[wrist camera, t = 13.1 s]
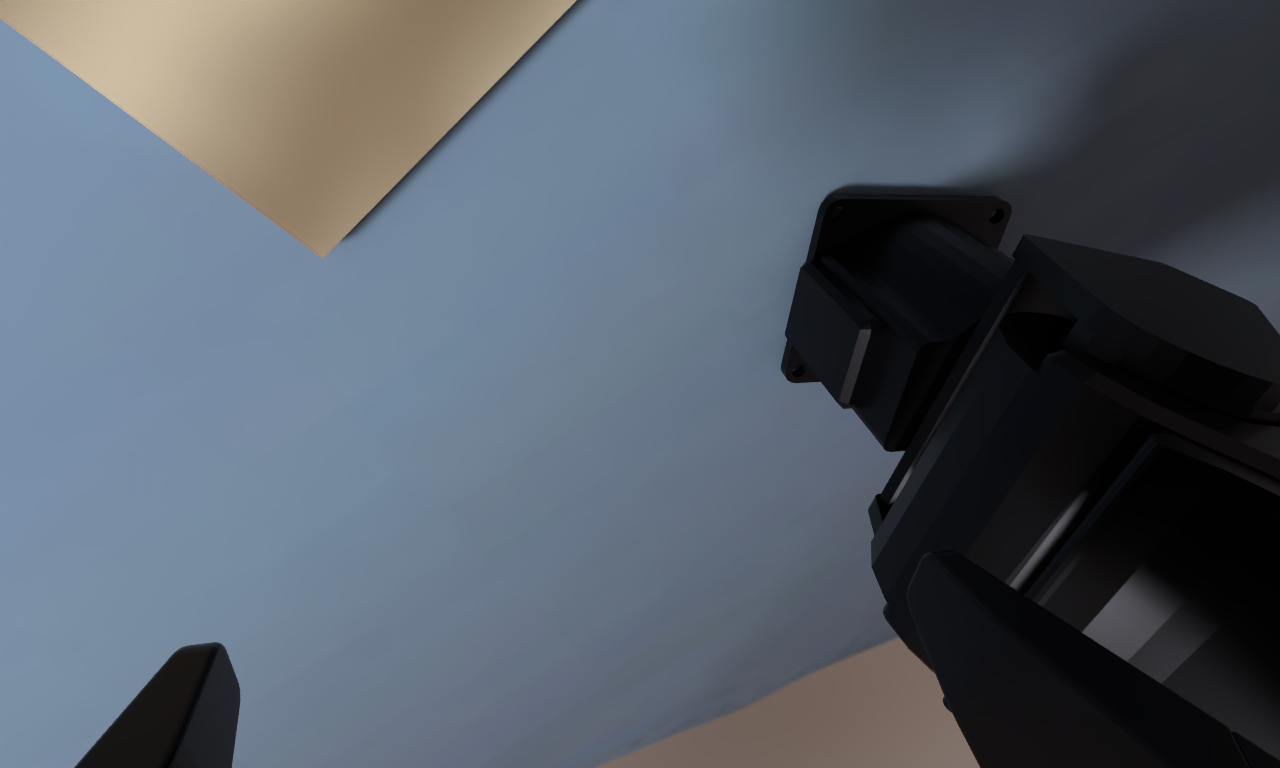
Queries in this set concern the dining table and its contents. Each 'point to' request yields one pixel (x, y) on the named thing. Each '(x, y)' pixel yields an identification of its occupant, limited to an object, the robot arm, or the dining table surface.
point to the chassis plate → (292, 86)
